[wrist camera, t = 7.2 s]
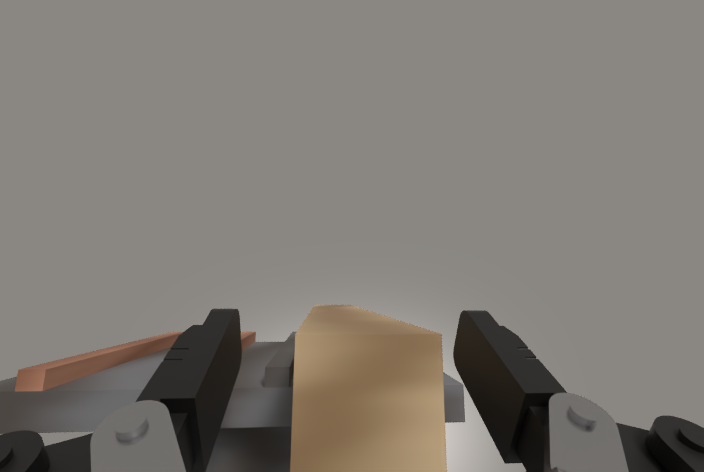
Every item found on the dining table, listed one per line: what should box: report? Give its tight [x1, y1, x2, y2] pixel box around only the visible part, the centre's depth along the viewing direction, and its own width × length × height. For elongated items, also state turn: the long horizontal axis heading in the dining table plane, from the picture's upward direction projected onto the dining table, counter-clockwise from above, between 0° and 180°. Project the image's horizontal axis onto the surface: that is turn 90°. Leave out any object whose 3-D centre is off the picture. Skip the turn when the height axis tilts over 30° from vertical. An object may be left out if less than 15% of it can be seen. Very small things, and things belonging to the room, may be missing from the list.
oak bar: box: [290, 305, 447, 472], centre depth 17 cm, size 3×22×3 cm, turn 5°
